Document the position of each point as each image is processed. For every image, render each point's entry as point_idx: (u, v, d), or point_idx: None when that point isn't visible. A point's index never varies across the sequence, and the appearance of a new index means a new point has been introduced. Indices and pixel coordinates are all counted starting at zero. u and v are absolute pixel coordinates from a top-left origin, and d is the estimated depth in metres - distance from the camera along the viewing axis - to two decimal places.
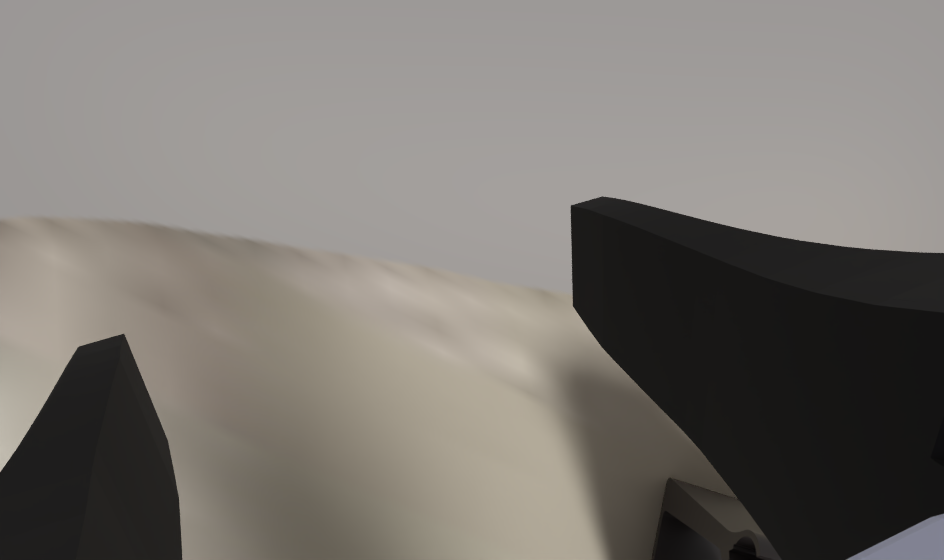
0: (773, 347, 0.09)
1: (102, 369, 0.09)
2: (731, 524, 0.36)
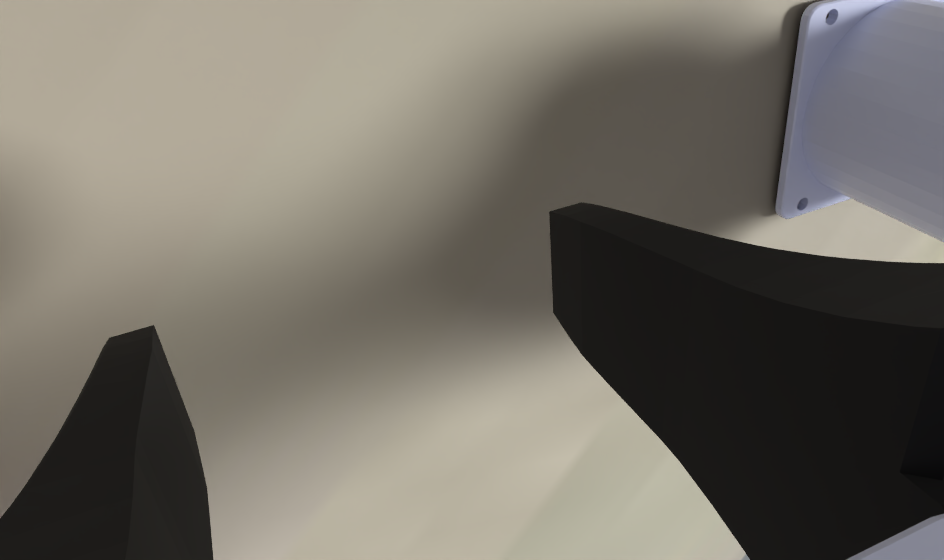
0: (746, 357, 0.09)
1: (135, 359, 0.10)
2: None
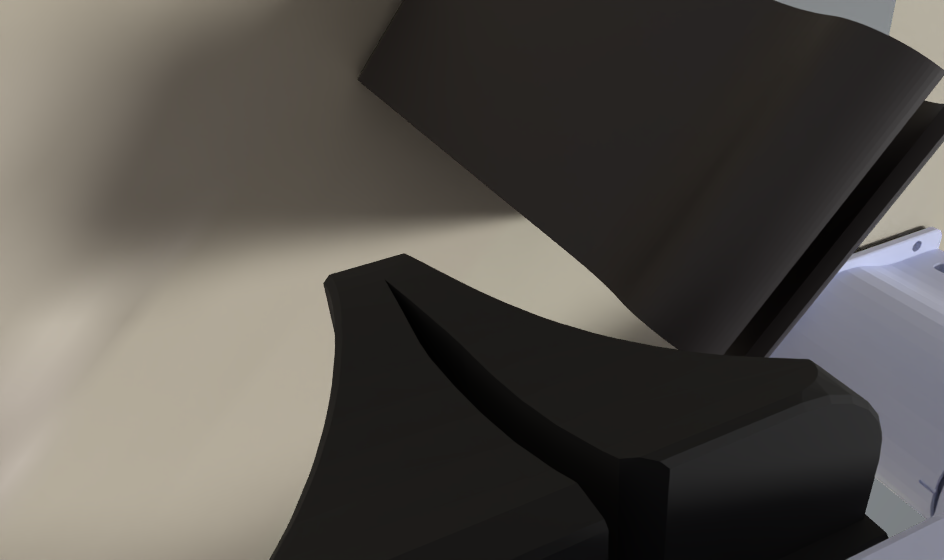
0: None
1: (373, 288, 0.10)
2: (554, 194, 0.16)
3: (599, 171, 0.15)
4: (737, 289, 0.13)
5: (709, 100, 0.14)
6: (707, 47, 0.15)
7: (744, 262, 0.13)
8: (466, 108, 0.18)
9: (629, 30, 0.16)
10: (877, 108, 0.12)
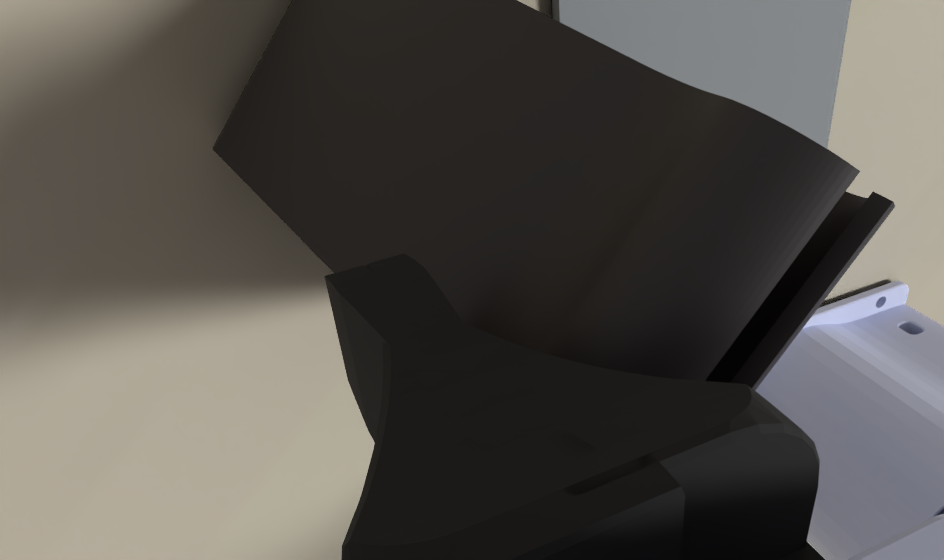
0: None
1: (413, 276, 0.11)
2: None
3: (465, 273, 0.13)
4: None
5: (586, 192, 0.12)
6: (584, 126, 0.12)
7: None
8: (323, 188, 0.15)
9: (498, 102, 0.13)
10: (777, 216, 0.10)
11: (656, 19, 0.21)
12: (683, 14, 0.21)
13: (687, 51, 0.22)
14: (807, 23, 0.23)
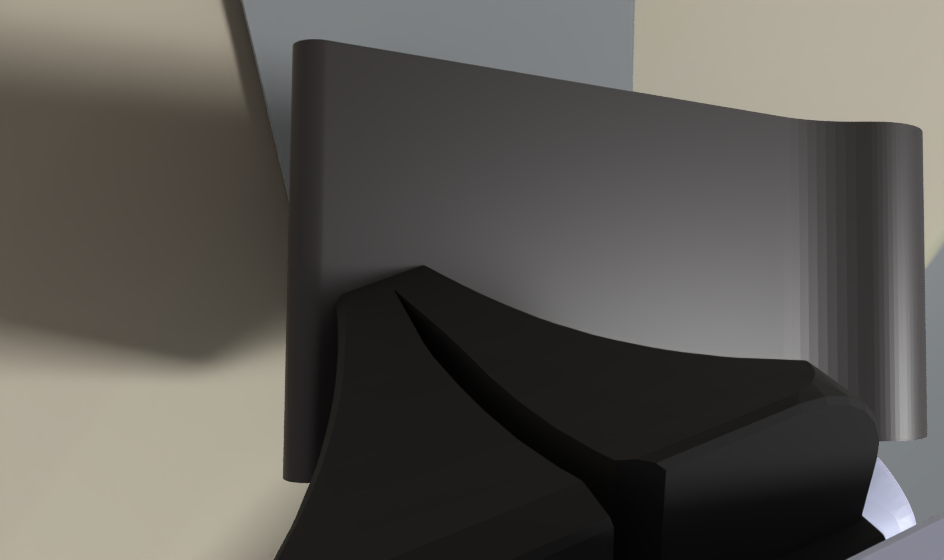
0: None
1: (375, 288, 0.10)
2: None
3: (757, 349, 0.14)
4: (925, 362, 0.15)
5: (803, 229, 0.14)
6: (772, 182, 0.14)
7: (924, 340, 0.15)
8: None
9: (698, 195, 0.13)
10: None
11: None
12: None
13: None
14: (582, 67, 0.21)
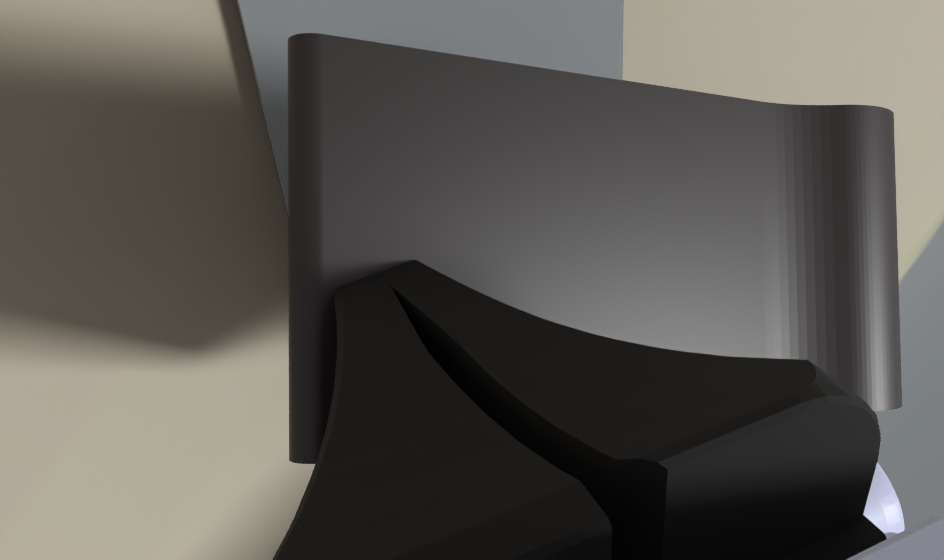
0: None
1: (374, 288, 0.10)
2: None
3: (740, 326, 0.14)
4: (899, 335, 0.16)
5: (781, 209, 0.15)
6: (751, 164, 0.14)
7: (898, 314, 0.15)
8: None
9: (681, 179, 0.14)
10: (893, 161, 0.16)
11: None
12: None
13: None
14: (572, 60, 0.21)
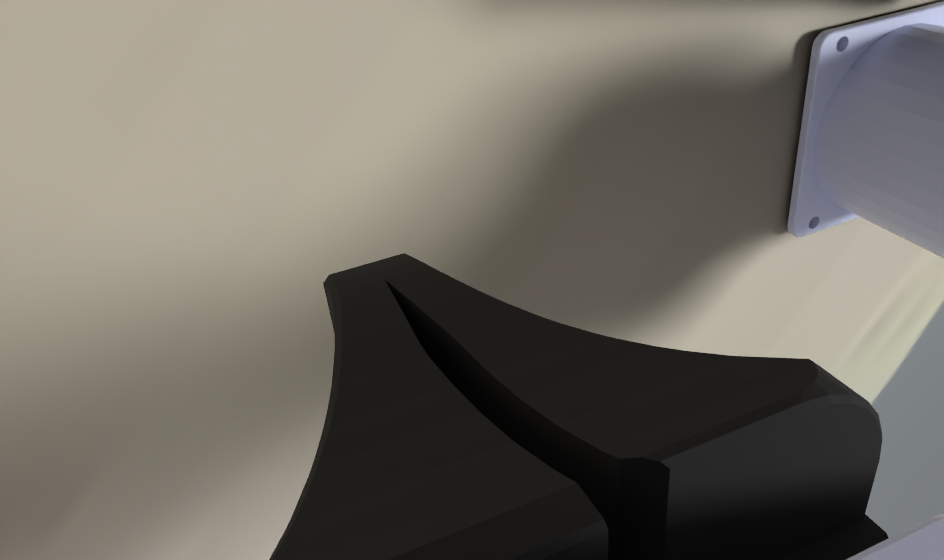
0: None
1: (373, 288, 0.10)
2: None
3: None
4: None
5: None
6: None
7: None
8: None
9: None
10: None
11: None
12: None
13: None
14: None
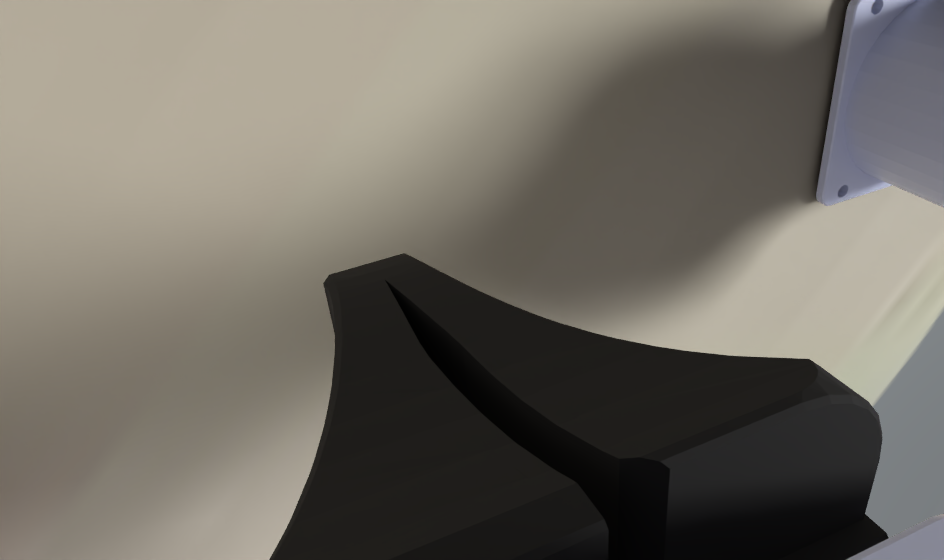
0: None
1: (373, 288, 0.10)
2: None
3: None
4: None
5: None
6: None
7: None
8: None
9: None
10: None
11: None
12: None
13: None
14: None
